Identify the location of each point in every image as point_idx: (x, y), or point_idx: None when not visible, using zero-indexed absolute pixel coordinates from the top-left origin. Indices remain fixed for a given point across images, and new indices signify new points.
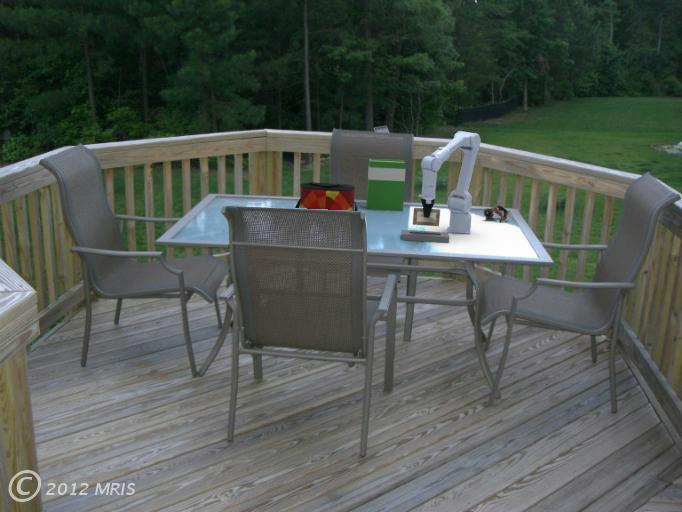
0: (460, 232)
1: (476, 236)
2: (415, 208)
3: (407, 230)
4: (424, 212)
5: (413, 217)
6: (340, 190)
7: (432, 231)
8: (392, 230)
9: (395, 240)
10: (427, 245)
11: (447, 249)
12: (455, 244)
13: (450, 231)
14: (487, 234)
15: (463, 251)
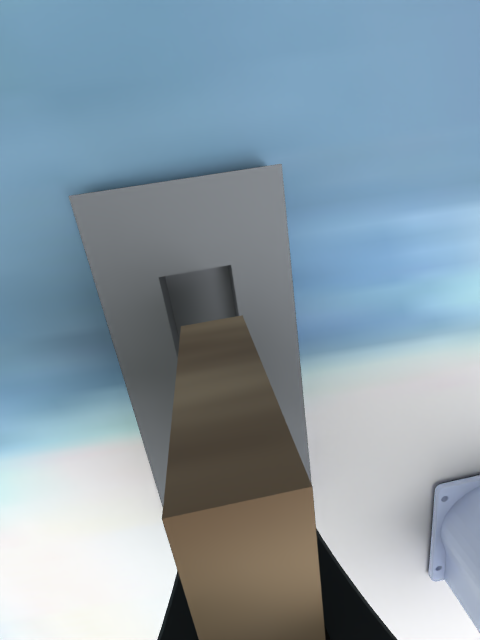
0: (433, 542)
1: (387, 604)
2: (200, 543)
3: (264, 234)
4: (171, 633)
5: (178, 374)
6: None
7: (306, 442)
8: (422, 47)
9: (40, 136)
10: (37, 424)
11: (14, 545)
12: (166, 558)
13: (441, 497)
14: (438, 630)
15: (27, 616)
